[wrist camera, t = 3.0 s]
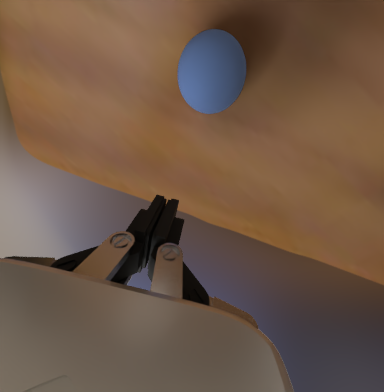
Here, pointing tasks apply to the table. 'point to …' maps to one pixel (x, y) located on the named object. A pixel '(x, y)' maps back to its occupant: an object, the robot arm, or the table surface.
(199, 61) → the ball
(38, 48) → the table surface
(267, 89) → the table surface
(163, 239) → the robot arm
